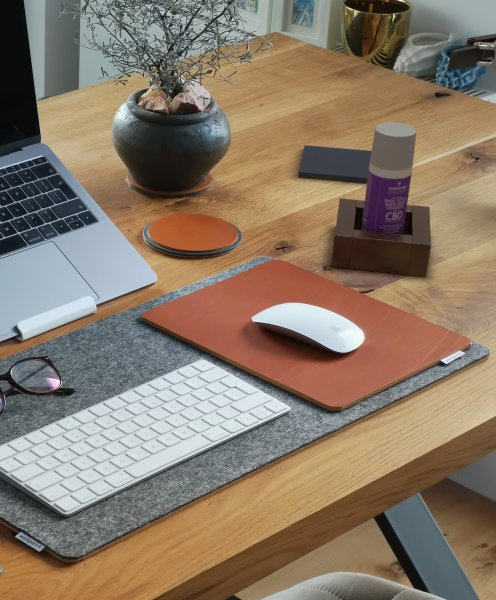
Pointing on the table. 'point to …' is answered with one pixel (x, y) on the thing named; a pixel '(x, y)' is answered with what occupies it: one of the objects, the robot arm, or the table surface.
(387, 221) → the container
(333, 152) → the mat
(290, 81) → the table surface
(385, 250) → the stand
